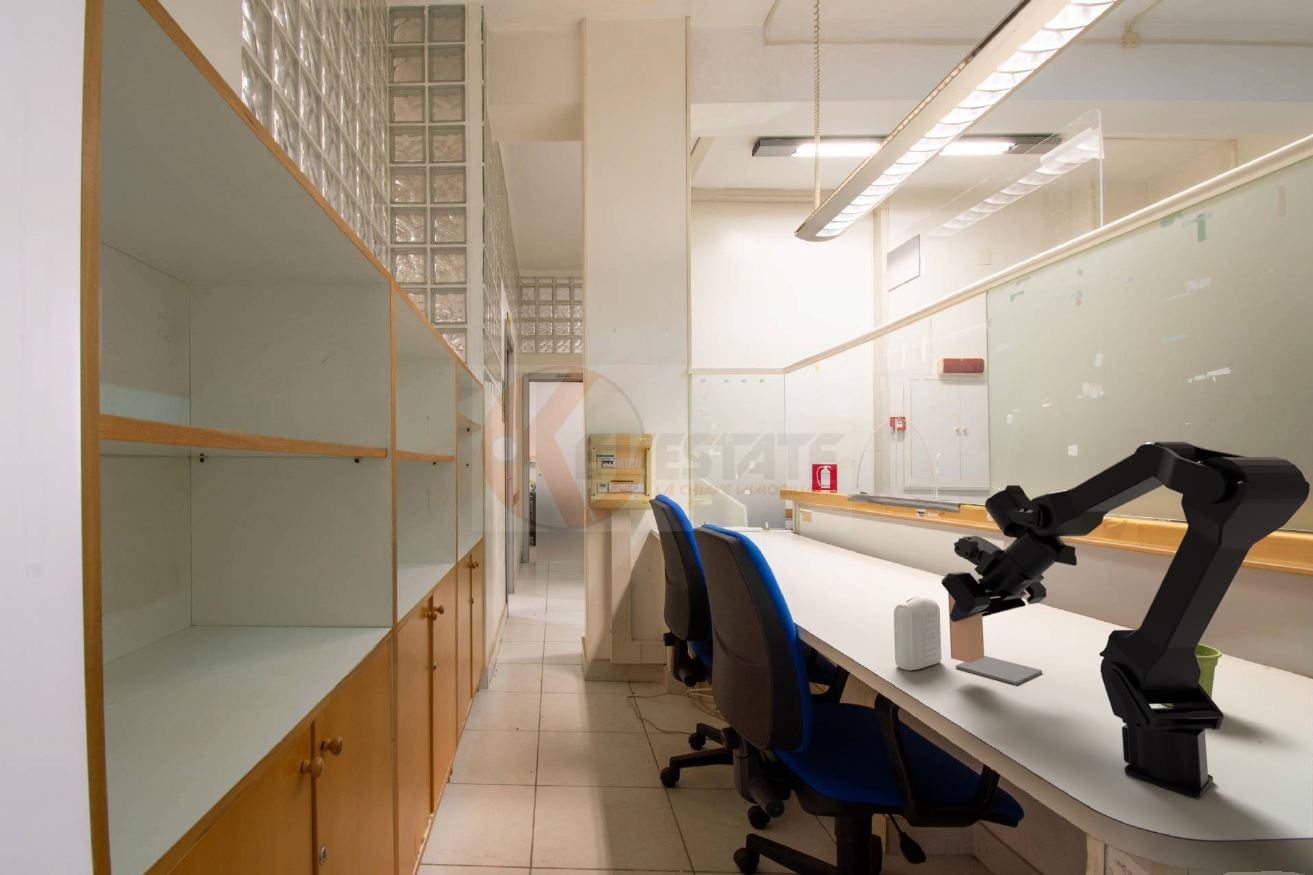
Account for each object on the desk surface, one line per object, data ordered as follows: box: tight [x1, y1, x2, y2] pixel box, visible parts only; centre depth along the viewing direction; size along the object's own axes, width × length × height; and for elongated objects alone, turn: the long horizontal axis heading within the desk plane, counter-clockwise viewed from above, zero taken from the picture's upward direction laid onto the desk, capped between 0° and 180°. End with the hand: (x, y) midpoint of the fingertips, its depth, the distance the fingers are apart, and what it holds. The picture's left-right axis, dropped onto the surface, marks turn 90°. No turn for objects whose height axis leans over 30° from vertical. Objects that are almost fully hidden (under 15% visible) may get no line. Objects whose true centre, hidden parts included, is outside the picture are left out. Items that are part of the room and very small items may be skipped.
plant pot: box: [1163, 643, 1223, 708], centre depth 85 cm, size 9×9×9 cm
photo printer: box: [893, 595, 942, 672], centre depth 104 cm, size 10×4×12 cm, turn 123°
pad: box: [955, 655, 1043, 686], centre depth 100 cm, size 10×10×1 cm
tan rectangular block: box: [947, 591, 985, 663], centre depth 95 cm, size 3×5×12 cm, turn 125°
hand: (963, 617), depth 95 cm, fingers closed on tan rectangular block, 5 cm apart
